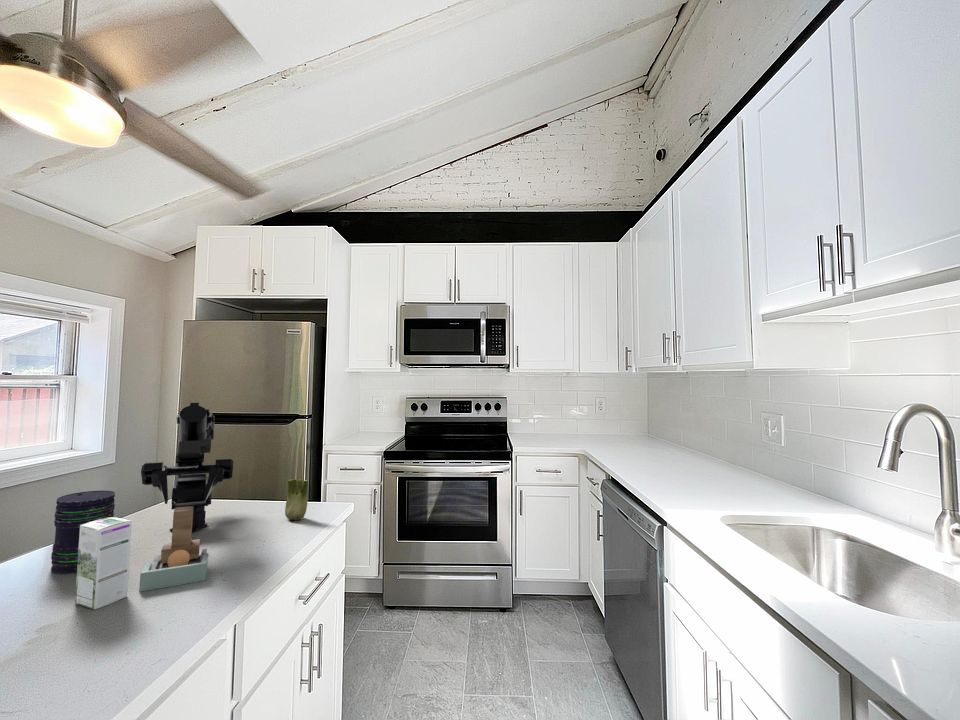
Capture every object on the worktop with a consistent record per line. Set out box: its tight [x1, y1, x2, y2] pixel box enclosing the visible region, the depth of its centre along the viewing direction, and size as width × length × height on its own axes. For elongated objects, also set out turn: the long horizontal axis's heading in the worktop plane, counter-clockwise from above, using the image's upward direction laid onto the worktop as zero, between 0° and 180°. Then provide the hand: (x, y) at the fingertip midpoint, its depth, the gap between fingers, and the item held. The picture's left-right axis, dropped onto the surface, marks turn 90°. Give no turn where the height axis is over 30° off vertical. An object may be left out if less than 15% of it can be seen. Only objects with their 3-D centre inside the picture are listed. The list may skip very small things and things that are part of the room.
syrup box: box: [74, 516, 133, 610], centre depth 81 cm, size 6×6×14 cm
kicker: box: [160, 506, 201, 565], centre depth 99 cm, size 4×7×11 cm, turn 120°
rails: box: [151, 548, 208, 570], centre depth 98 cm, size 8×10×1 cm
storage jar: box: [50, 490, 116, 575], centre depth 96 cm, size 10×10×15 cm
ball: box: [166, 550, 191, 568], centre depth 95 cm, size 4×4×4 cm
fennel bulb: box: [284, 478, 309, 521], centre depth 130 cm, size 6×5×12 cm
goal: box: [138, 554, 209, 593], centre depth 90 cm, size 6×11×4 cm, turn 120°
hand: (186, 501), depth 102 cm, fingers open, 7 cm apart
